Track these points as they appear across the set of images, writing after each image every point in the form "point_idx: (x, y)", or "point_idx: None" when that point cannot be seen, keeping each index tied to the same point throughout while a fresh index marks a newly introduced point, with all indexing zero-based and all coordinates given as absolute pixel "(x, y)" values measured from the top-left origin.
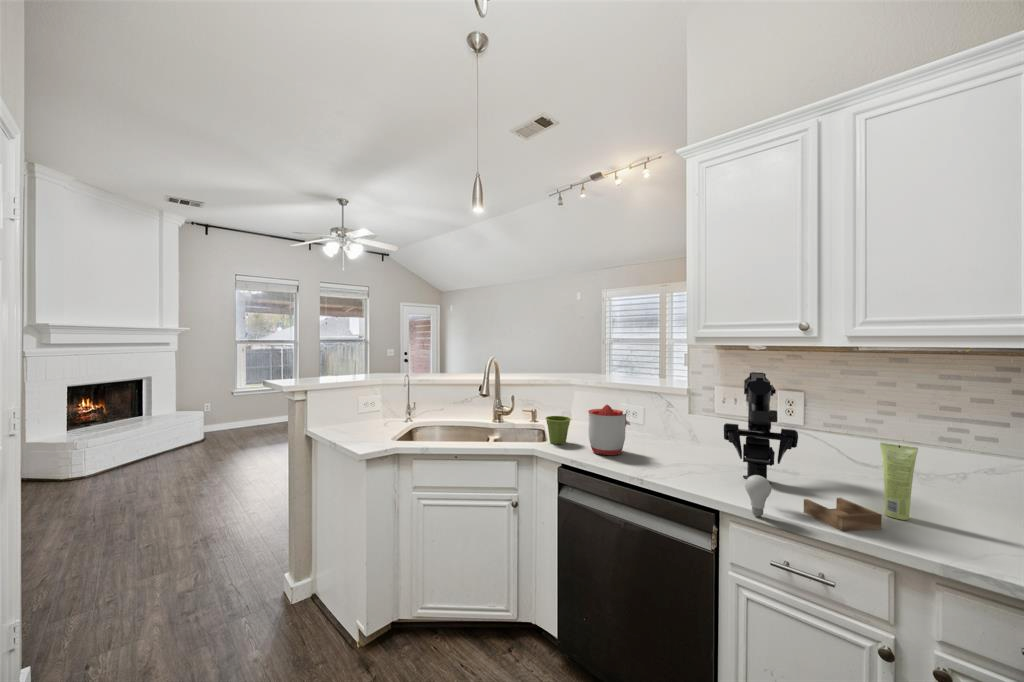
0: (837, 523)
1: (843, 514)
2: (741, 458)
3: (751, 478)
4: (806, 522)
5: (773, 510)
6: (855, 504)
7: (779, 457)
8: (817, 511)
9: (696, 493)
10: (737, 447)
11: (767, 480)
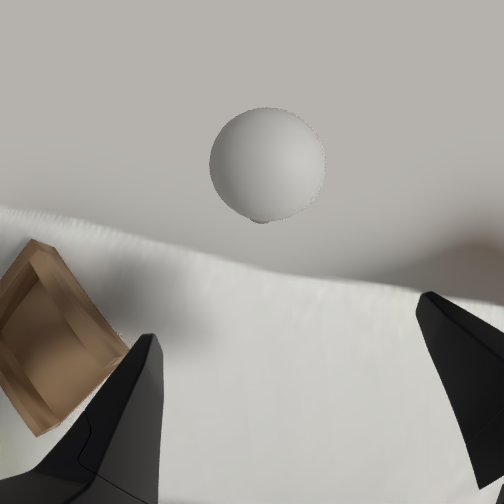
0: (52, 254)
1: (25, 264)
2: (419, 303)
3: (297, 119)
4: (125, 258)
5: (219, 309)
6: (4, 387)
7: (132, 359)
8: (85, 309)
9: None
10: (494, 328)
11: (223, 150)
